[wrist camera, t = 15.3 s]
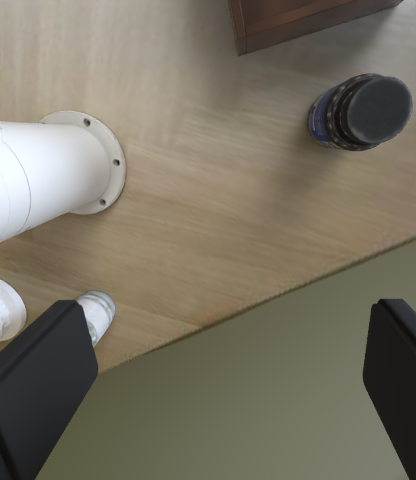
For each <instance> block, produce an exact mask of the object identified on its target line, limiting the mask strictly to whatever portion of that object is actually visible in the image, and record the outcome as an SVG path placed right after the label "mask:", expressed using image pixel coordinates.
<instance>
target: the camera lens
mask: <svg viewBox="0 0 416 480" xmlns="http://www.w3.org/2000/svg"><path fill="white" fill-rule="evenodd" d="M75 301H77V302H78V303H79V304H80V305H82V306H83V309H84V313H85V317H86V321H87V325H88V329H89V333H90V337H91V341H92V344H93V348H94V347H95V345H96V344H97V342H98V341H99V340H100V338H101V337H102V335H103V334H104V333H105V331H106V330H107V328H108V327H109V326H110V324H111V322H112V320H113V317H114V314H115V306H114V303H113V301H112V300H111V298H110V297H109V296H107V295H106V294H104V293H102V292H99V291H89V292H87V293H85V294H83V295H81V296H80V297H78V298H77V299H75Z"/></svg>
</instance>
